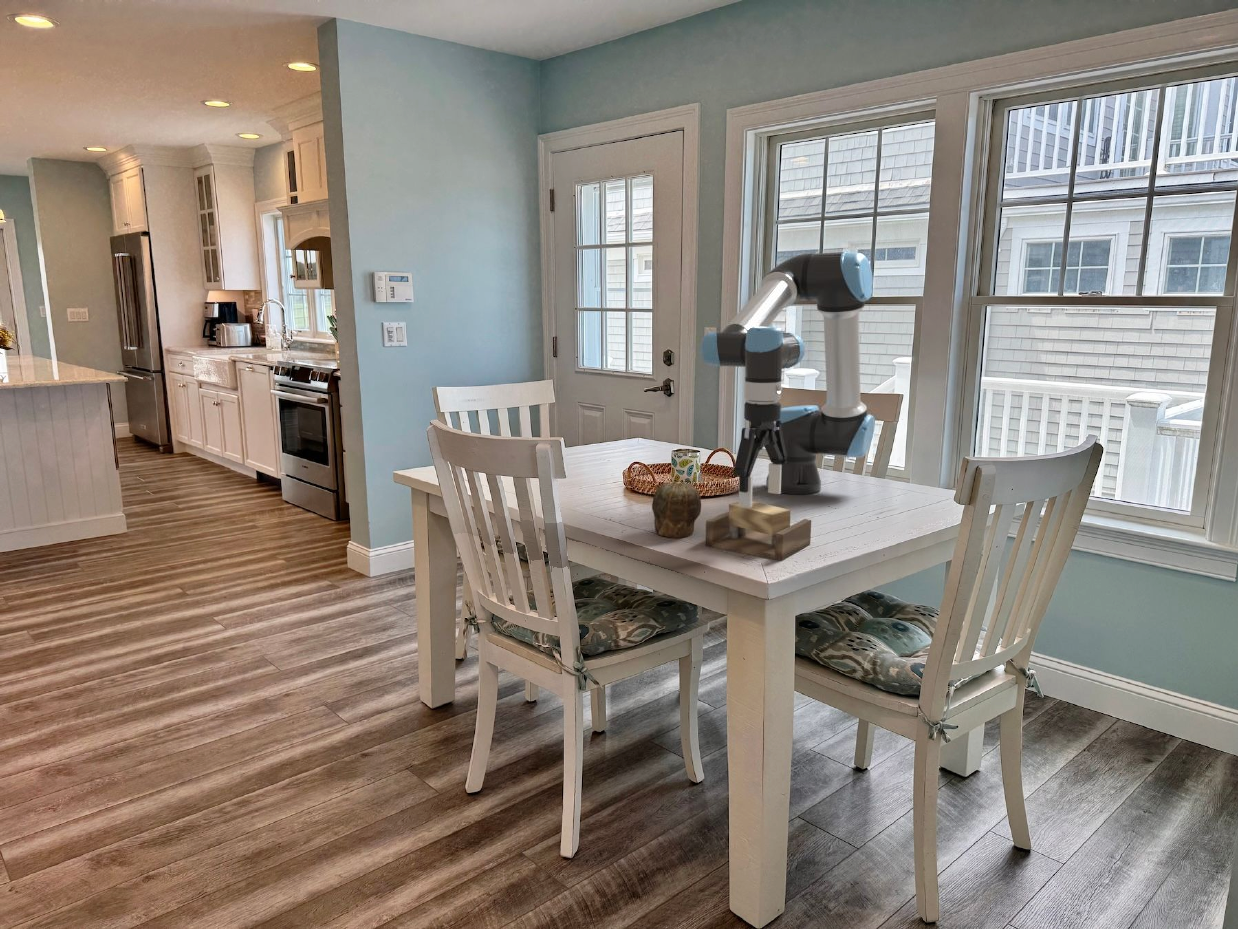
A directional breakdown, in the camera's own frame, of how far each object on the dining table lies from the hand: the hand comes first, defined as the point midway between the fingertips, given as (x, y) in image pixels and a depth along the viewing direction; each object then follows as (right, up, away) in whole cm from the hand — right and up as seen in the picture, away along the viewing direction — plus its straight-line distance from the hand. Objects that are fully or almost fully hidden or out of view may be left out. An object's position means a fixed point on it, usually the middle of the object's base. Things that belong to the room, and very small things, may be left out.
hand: (760, 499), depth 179 cm
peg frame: (0, -10, +2) cm, 10 cm away
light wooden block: (0, -6, +1) cm, 6 cm away
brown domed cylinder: (-17, -8, +10) cm, 22 cm away
